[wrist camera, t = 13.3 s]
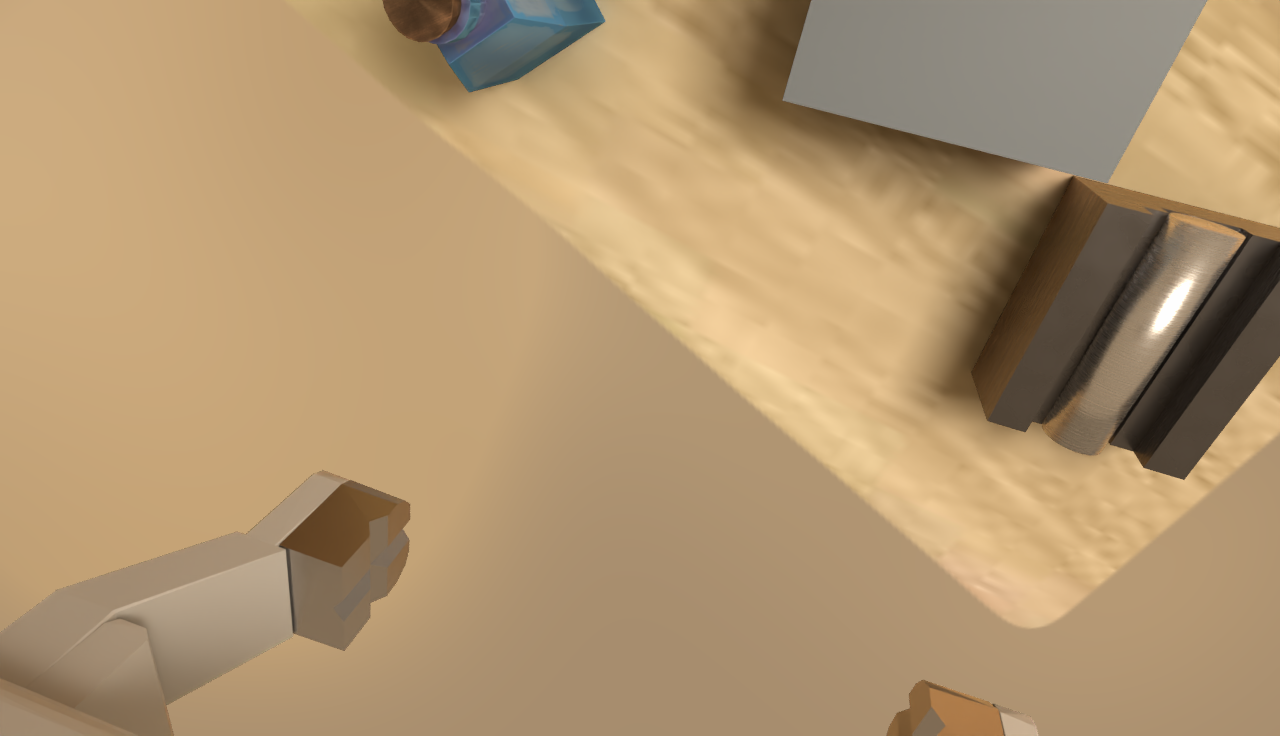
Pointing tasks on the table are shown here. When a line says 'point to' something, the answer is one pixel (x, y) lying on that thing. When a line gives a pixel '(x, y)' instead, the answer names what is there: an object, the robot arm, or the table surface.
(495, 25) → the perfume bottle
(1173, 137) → the table surface
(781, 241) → the table surface
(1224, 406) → the v block
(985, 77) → the grey block
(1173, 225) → the axle
